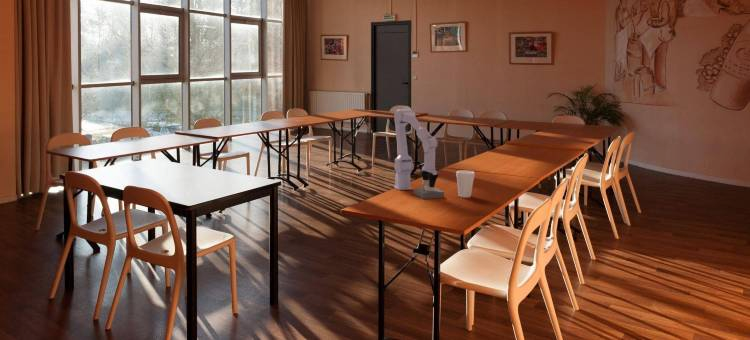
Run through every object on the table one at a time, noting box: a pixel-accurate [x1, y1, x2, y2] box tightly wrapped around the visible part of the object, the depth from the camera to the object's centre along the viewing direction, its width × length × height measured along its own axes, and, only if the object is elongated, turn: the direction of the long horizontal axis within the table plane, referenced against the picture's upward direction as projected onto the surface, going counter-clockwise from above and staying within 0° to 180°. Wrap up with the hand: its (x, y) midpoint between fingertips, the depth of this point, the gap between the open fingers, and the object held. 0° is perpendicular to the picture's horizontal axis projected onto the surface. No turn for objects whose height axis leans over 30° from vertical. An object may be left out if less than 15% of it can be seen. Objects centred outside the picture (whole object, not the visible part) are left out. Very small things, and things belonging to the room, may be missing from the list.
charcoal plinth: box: [413, 187, 445, 200], centre depth 352 cm, size 12×12×3 cm
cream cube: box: [421, 179, 436, 191], centre depth 351 cm, size 5×5×5 cm
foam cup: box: [455, 169, 476, 198], centre depth 351 cm, size 10×9×13 cm
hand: (428, 185), depth 351 cm, fingers open, 7 cm apart
